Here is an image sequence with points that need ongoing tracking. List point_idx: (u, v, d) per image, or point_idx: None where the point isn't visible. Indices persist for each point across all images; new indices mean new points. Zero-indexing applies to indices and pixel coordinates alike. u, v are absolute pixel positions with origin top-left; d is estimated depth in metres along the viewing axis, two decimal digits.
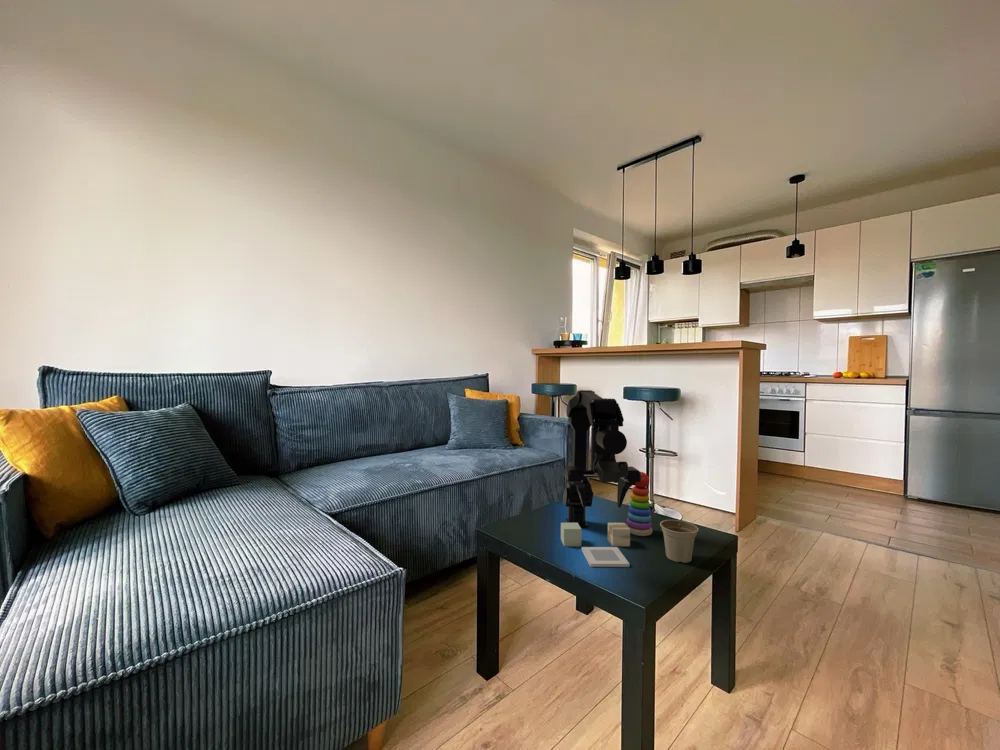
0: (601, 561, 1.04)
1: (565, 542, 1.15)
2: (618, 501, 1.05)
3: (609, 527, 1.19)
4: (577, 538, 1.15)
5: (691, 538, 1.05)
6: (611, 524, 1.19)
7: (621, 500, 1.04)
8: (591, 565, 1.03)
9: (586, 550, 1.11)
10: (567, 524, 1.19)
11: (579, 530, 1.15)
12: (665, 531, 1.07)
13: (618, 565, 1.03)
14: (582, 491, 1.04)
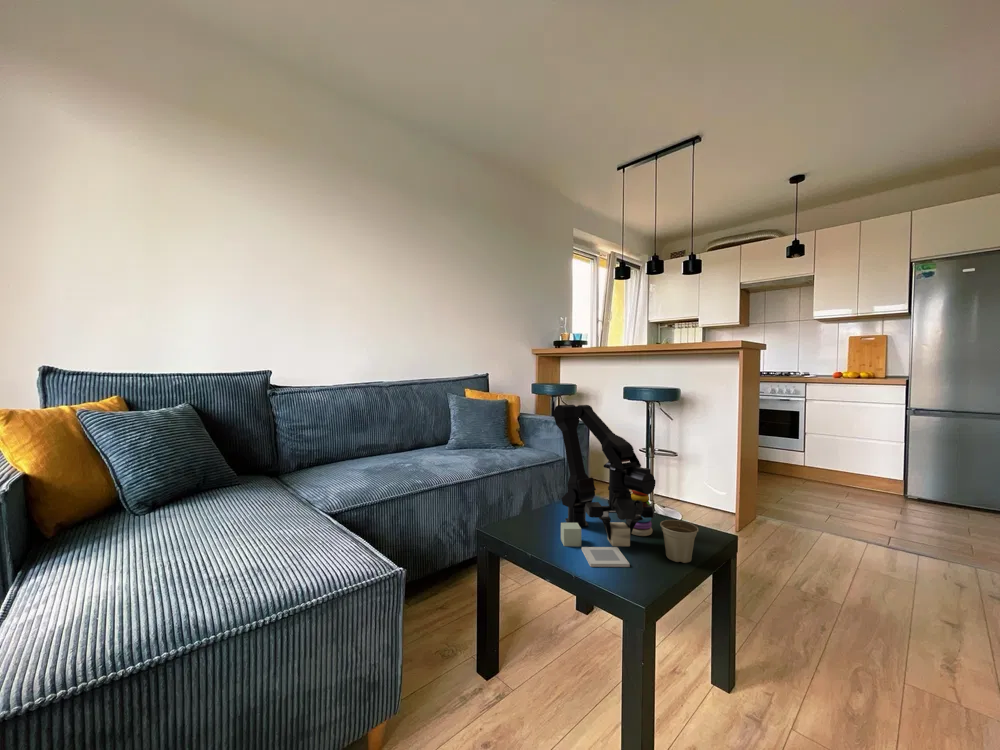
0: (601, 561, 1.04)
1: (565, 542, 1.15)
2: None
3: None
4: (577, 538, 1.15)
5: (691, 538, 1.05)
6: (611, 524, 1.19)
7: None
8: (591, 565, 1.03)
9: (586, 550, 1.11)
10: (567, 524, 1.19)
11: (579, 530, 1.15)
12: (665, 531, 1.07)
13: (618, 565, 1.03)
14: (608, 525, 1.17)
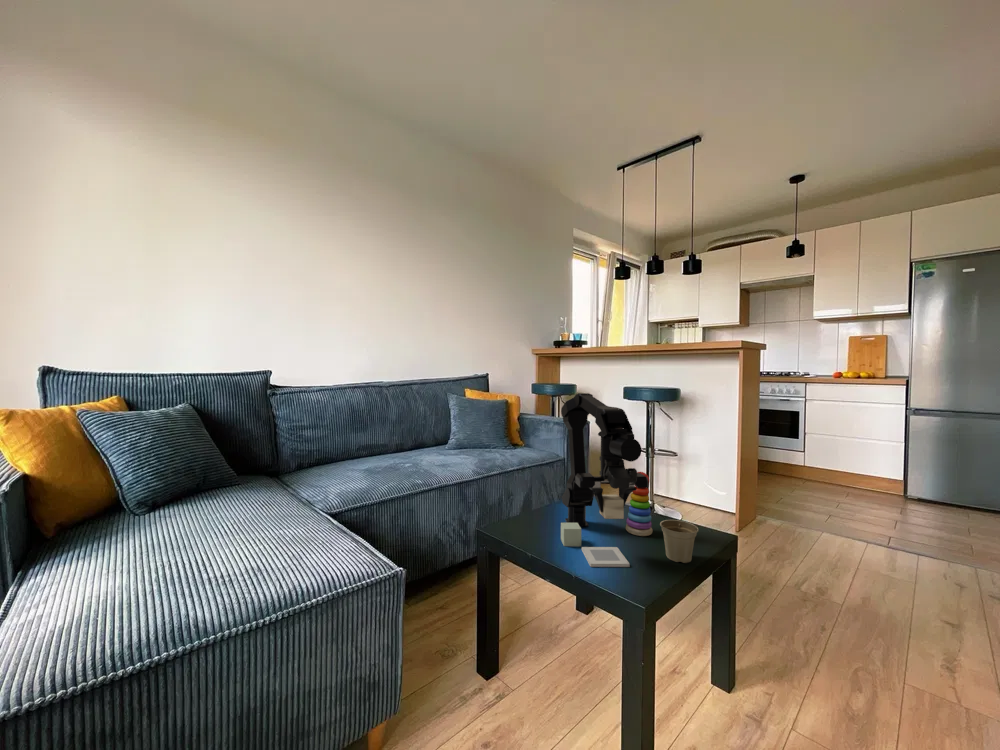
0: (601, 561, 1.04)
1: (565, 542, 1.15)
2: None
3: None
4: (577, 538, 1.15)
5: (691, 538, 1.05)
6: (603, 496, 1.12)
7: None
8: (591, 565, 1.03)
9: (586, 550, 1.11)
10: (567, 524, 1.19)
11: (579, 530, 1.15)
12: (665, 531, 1.07)
13: (618, 565, 1.03)
14: (600, 497, 1.09)
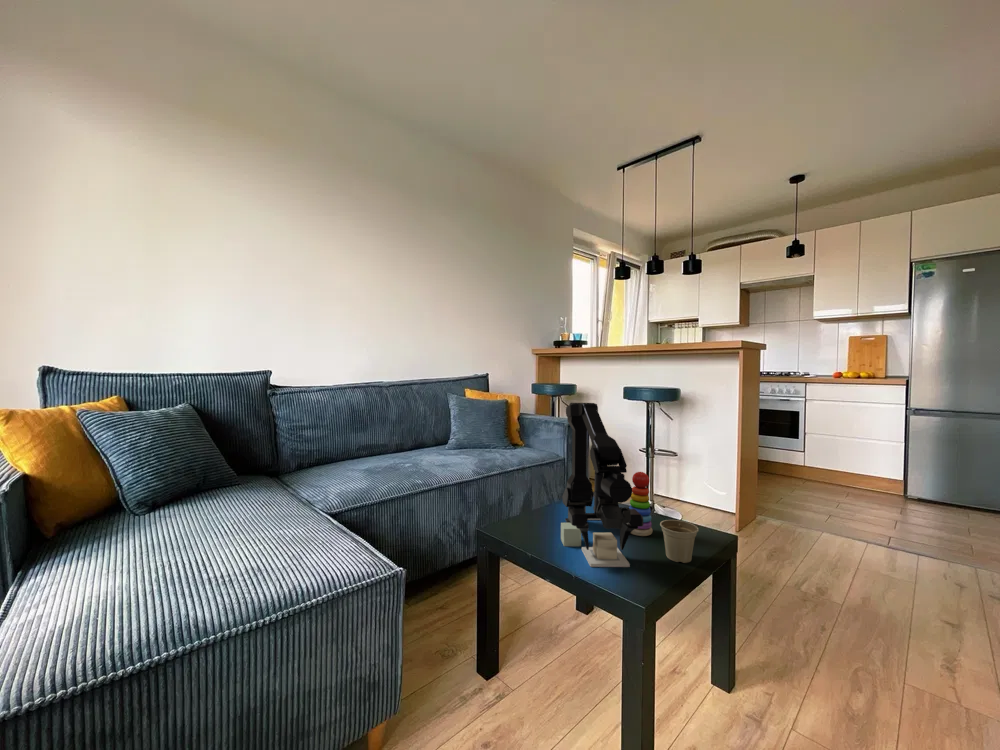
0: (601, 561, 1.04)
1: (565, 542, 1.15)
2: (621, 543, 1.08)
3: (594, 537, 1.09)
4: (577, 538, 1.15)
5: (691, 538, 1.05)
6: (597, 534, 1.09)
7: (624, 543, 1.07)
8: (591, 565, 1.03)
9: (586, 550, 1.11)
10: (567, 524, 1.19)
11: (579, 530, 1.15)
12: (665, 531, 1.07)
13: (618, 565, 1.03)
14: (586, 535, 1.07)
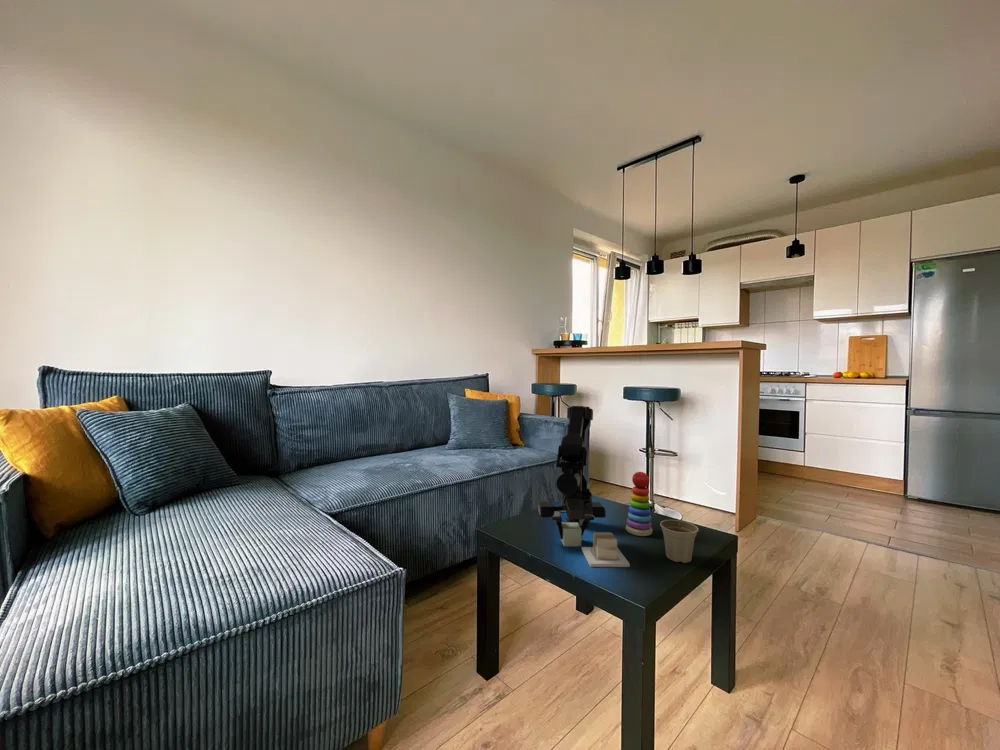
0: (601, 561, 1.04)
1: (565, 542, 1.15)
2: None
3: (594, 537, 1.09)
4: (577, 538, 1.15)
5: (691, 538, 1.05)
6: (597, 534, 1.09)
7: (581, 533, 1.17)
8: (591, 565, 1.03)
9: (586, 550, 1.11)
10: (567, 524, 1.19)
11: (579, 530, 1.15)
12: (665, 531, 1.07)
13: (618, 565, 1.03)
14: (559, 525, 1.17)
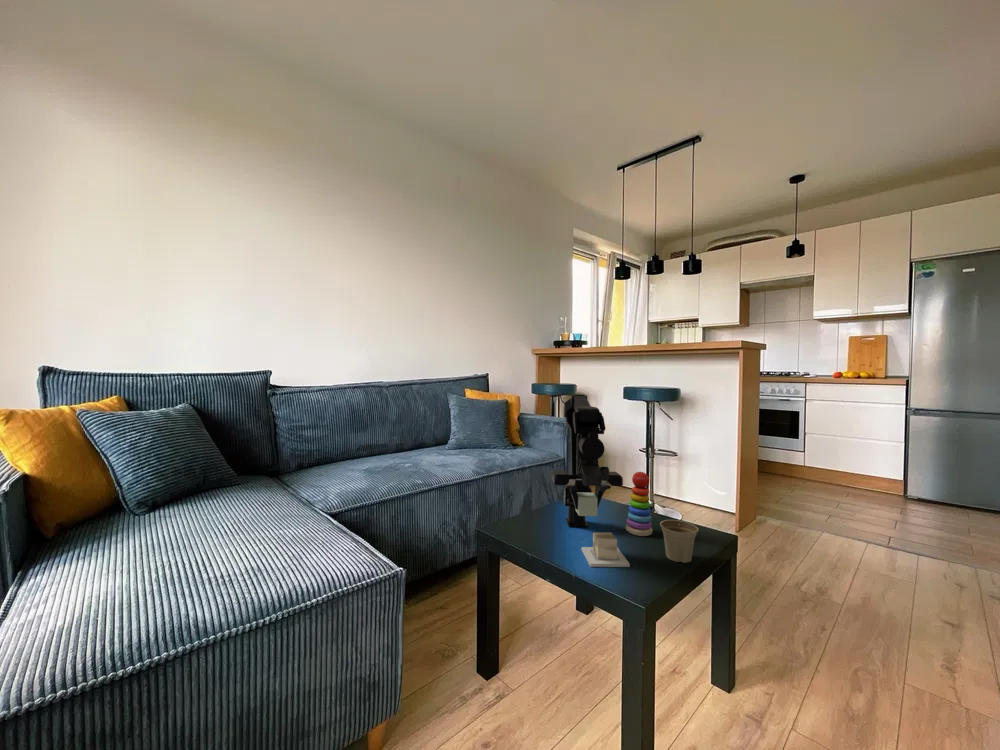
0: (601, 561, 1.04)
1: (580, 511, 1.10)
2: None
3: (594, 537, 1.09)
4: (593, 508, 1.10)
5: (691, 538, 1.05)
6: (597, 534, 1.09)
7: (597, 503, 1.12)
8: (591, 565, 1.03)
9: (586, 550, 1.11)
10: (582, 493, 1.14)
11: (595, 499, 1.10)
12: (665, 531, 1.07)
13: (618, 565, 1.03)
14: (575, 494, 1.12)
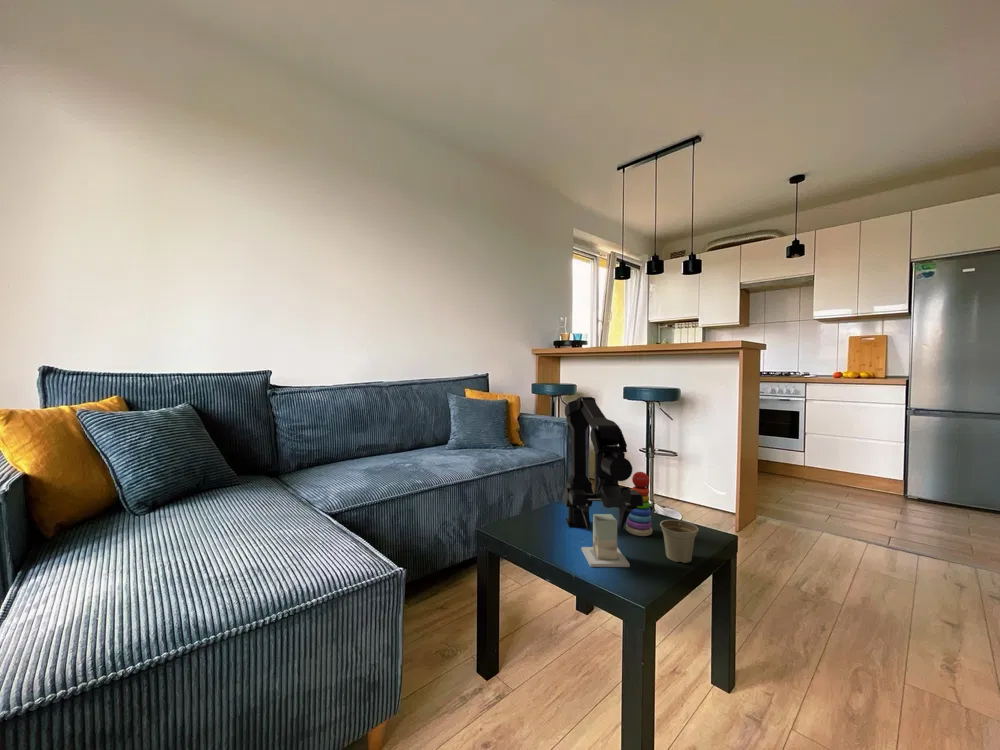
0: (601, 561, 1.04)
1: (599, 535, 1.05)
2: (620, 524, 1.08)
3: (594, 537, 1.09)
4: (613, 531, 1.06)
5: (691, 538, 1.05)
6: None
7: (623, 523, 1.07)
8: (591, 565, 1.03)
9: (586, 550, 1.11)
10: (600, 515, 1.09)
11: (615, 522, 1.06)
12: (665, 531, 1.07)
13: (618, 565, 1.03)
14: (587, 515, 1.07)
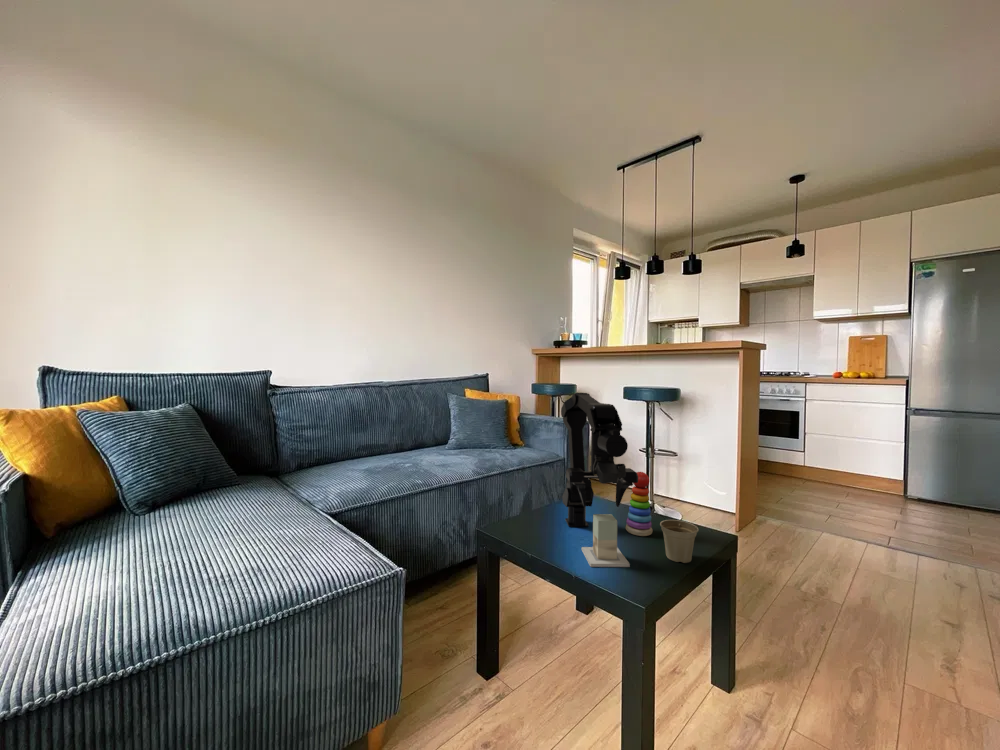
0: (601, 561, 1.04)
1: (599, 535, 1.05)
2: (616, 501, 1.12)
3: (594, 537, 1.09)
4: (613, 531, 1.06)
5: (691, 538, 1.05)
6: None
7: (619, 500, 1.11)
8: (591, 565, 1.03)
9: (586, 550, 1.11)
10: (600, 515, 1.09)
11: (615, 522, 1.06)
12: (665, 531, 1.07)
13: (618, 565, 1.03)
14: (582, 492, 1.11)
